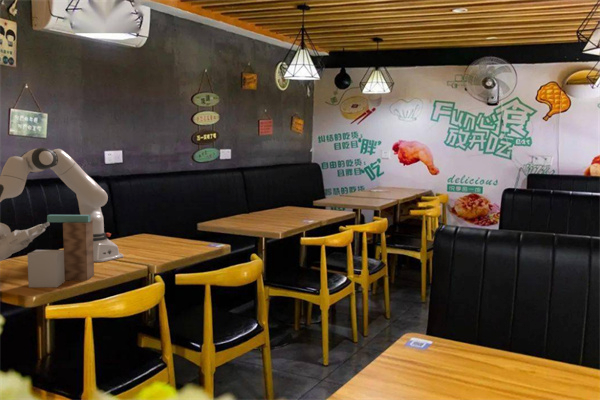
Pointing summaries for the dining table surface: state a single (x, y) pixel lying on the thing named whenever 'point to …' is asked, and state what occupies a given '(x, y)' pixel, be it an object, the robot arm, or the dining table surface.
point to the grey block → (46, 268)
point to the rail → (68, 218)
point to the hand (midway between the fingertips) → (44, 225)
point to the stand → (78, 250)
